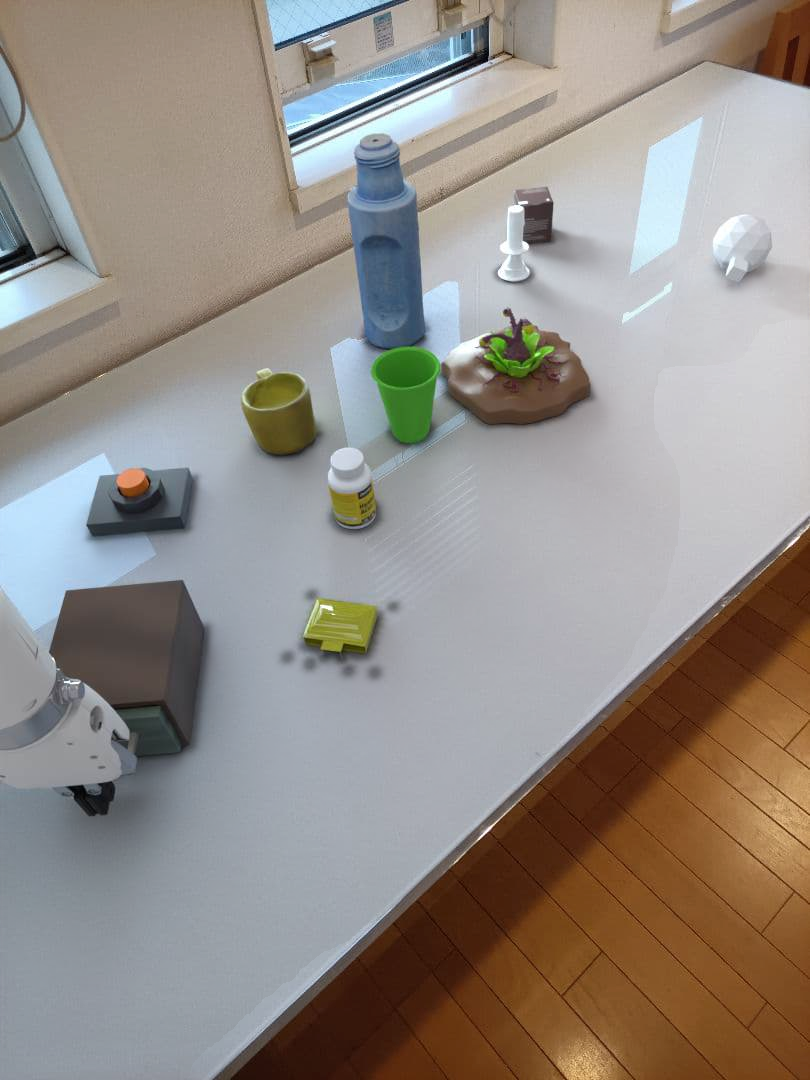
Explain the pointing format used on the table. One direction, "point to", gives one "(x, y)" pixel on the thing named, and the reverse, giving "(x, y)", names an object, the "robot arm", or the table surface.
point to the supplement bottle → (351, 489)
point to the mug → (279, 412)
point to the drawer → (148, 731)
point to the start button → (132, 482)
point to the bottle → (386, 245)
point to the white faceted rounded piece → (742, 245)
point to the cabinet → (134, 646)
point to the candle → (514, 247)
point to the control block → (141, 504)
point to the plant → (515, 374)
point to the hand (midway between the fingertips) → (101, 800)
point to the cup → (407, 390)
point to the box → (536, 213)
